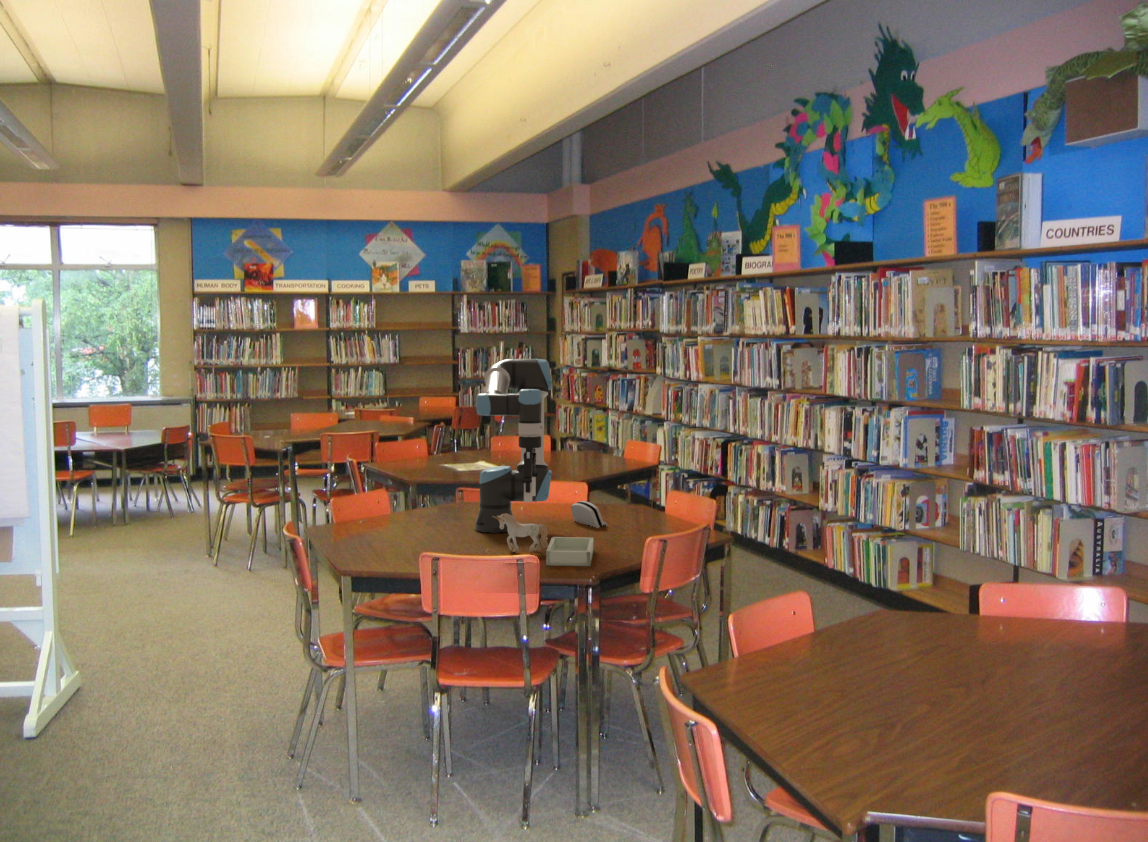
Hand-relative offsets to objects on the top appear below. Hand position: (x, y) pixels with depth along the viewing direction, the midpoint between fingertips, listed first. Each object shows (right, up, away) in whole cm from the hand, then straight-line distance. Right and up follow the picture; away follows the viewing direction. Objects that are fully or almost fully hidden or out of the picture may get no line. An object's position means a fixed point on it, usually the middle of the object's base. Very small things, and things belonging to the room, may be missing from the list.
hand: (529, 499), depth 325 cm
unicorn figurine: (-3, -18, -2) cm, 19 cm away
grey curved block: (+20, -14, +50) cm, 55 cm away
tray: (+14, -19, -7) cm, 24 cm away
